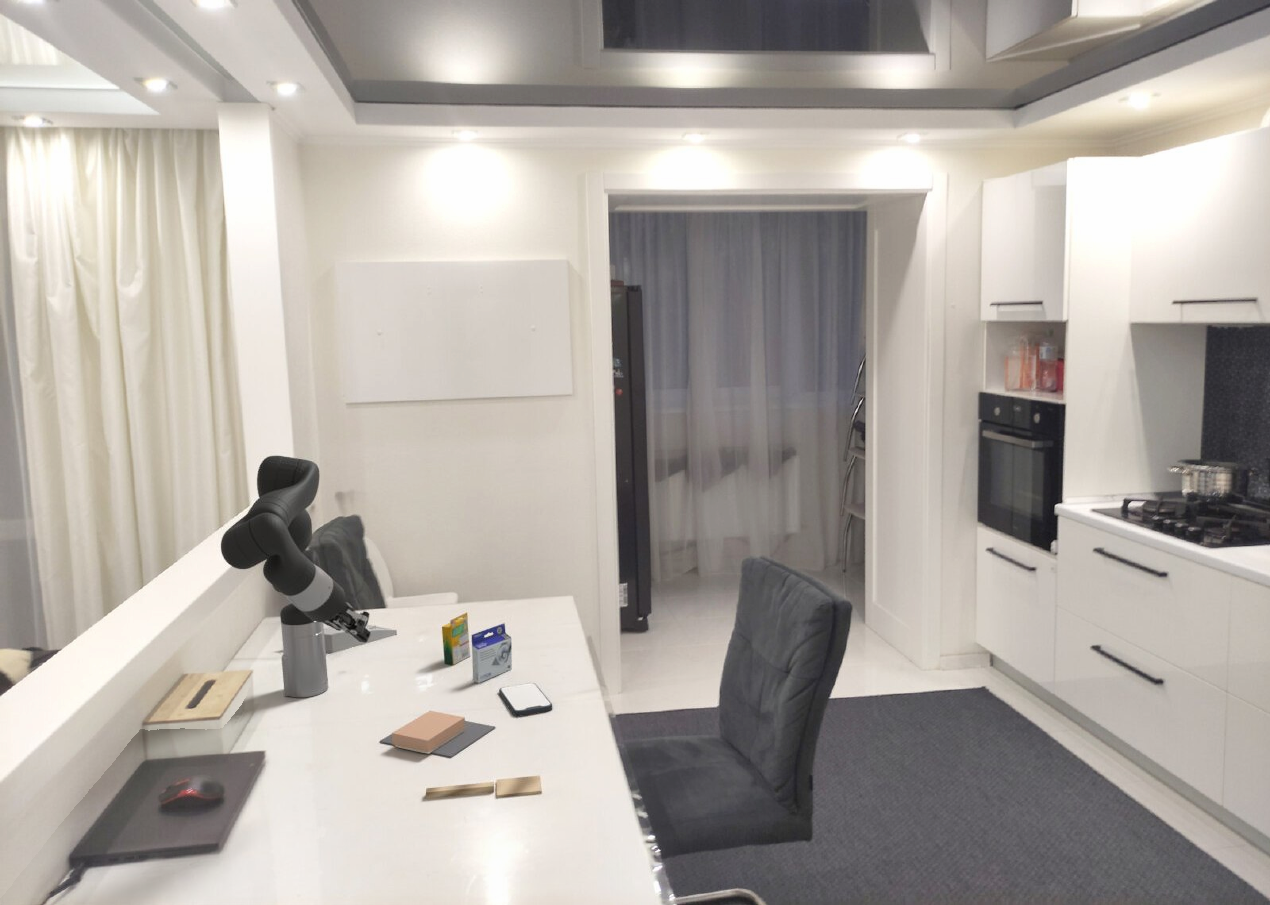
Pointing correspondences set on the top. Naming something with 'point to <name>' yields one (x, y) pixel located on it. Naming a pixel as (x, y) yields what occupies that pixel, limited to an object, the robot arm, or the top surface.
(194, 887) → the top surface
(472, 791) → the turner
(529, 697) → the phone case
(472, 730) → the mat
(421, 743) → the tile
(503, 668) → the ink box
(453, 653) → the crayon box
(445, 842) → the top surface
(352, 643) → the ramp
